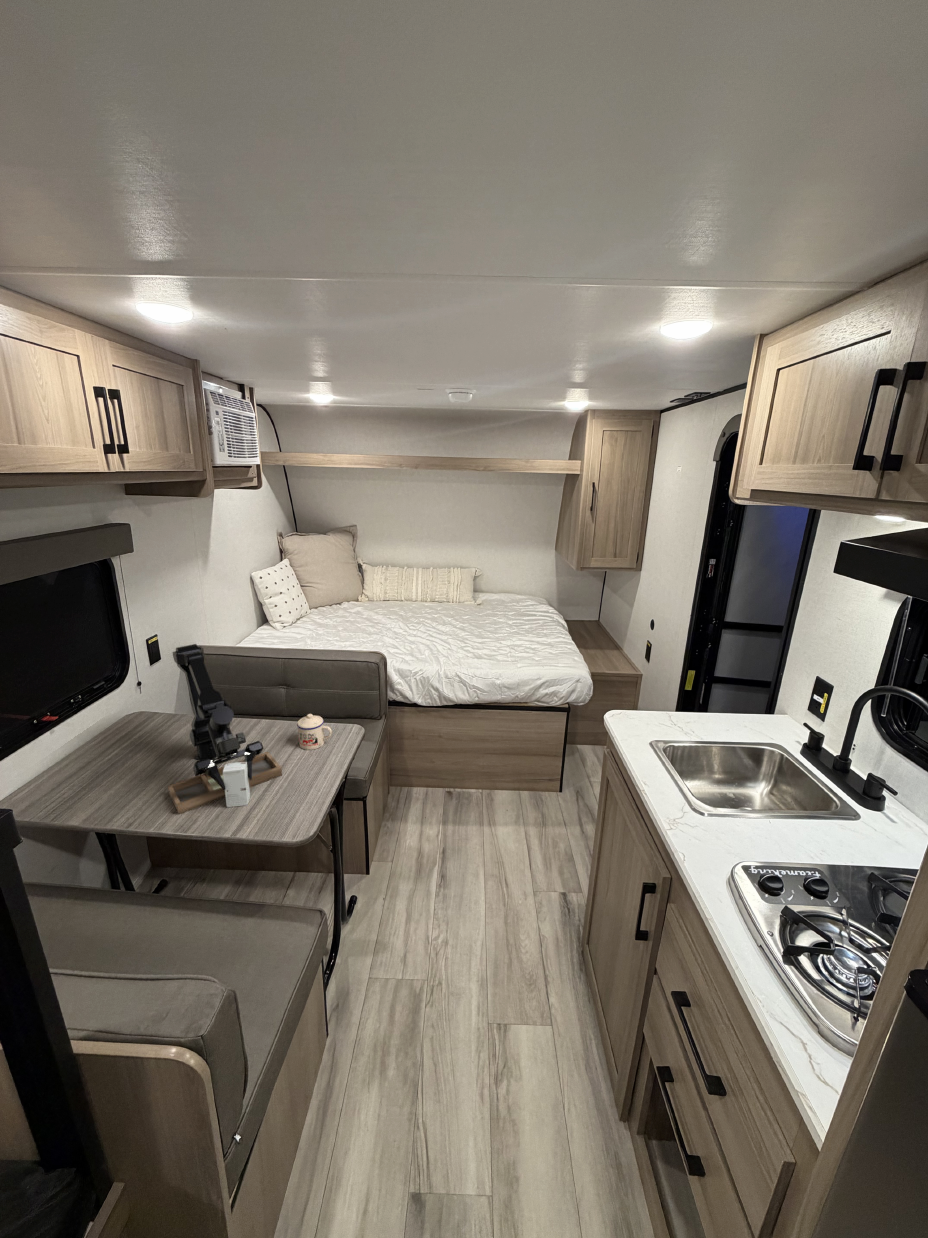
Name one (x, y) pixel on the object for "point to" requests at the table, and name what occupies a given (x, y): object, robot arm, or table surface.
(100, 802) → the table surface
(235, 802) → the skincare box
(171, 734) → the table surface
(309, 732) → the teacup with lid
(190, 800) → the three bay box
